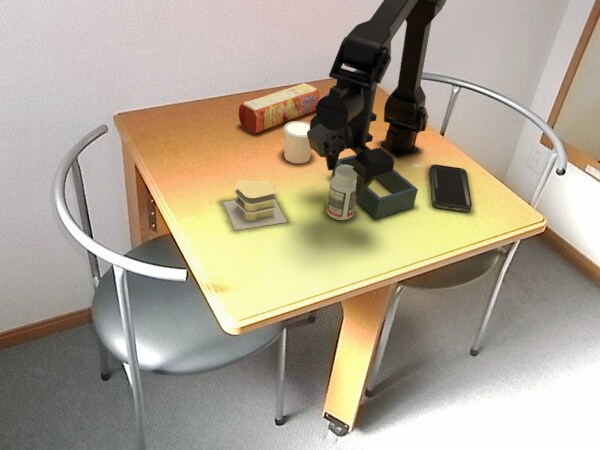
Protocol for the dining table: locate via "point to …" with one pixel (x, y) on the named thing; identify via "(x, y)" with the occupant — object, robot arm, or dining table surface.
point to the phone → (450, 188)
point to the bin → (388, 204)
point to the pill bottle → (342, 193)
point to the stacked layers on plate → (254, 205)
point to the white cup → (296, 142)
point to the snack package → (278, 107)
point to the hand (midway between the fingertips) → (344, 182)
